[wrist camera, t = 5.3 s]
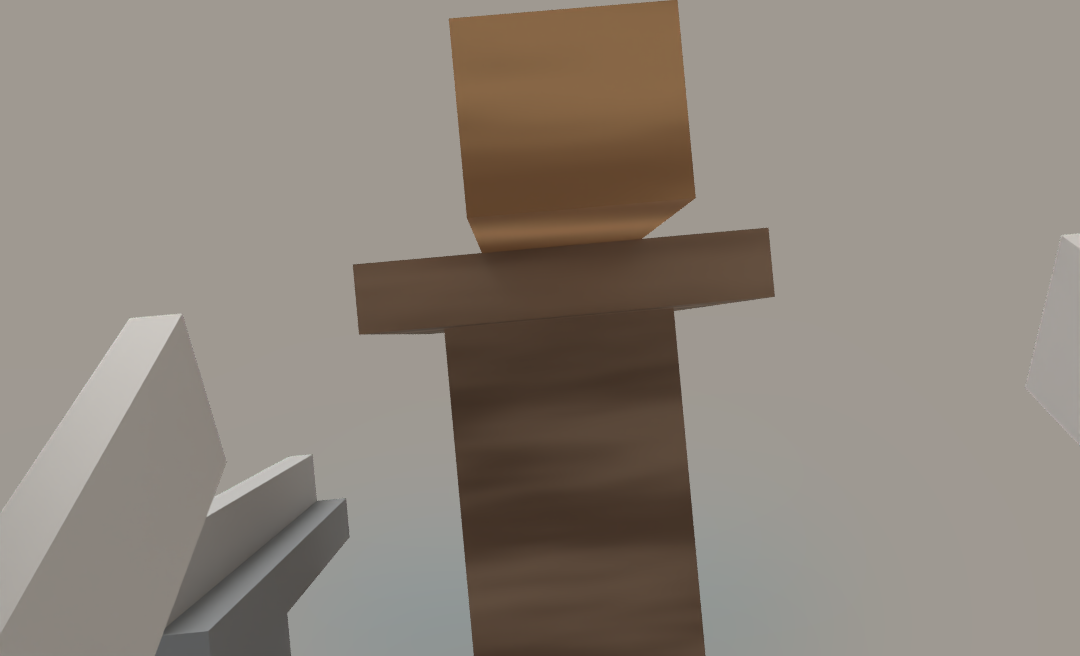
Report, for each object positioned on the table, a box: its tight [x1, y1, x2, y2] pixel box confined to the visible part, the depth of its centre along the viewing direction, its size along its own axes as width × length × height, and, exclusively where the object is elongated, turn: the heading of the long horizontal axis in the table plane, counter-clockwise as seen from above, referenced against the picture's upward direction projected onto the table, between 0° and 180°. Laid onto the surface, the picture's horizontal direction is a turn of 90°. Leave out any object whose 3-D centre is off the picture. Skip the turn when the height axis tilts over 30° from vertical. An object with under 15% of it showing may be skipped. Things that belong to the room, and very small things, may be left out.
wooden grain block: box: [449, 0, 696, 253], centre depth 28 cm, size 19×5×4 cm, turn 2°
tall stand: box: [353, 228, 775, 656], centre depth 37 cm, size 21×12×30 cm, turn 2°
